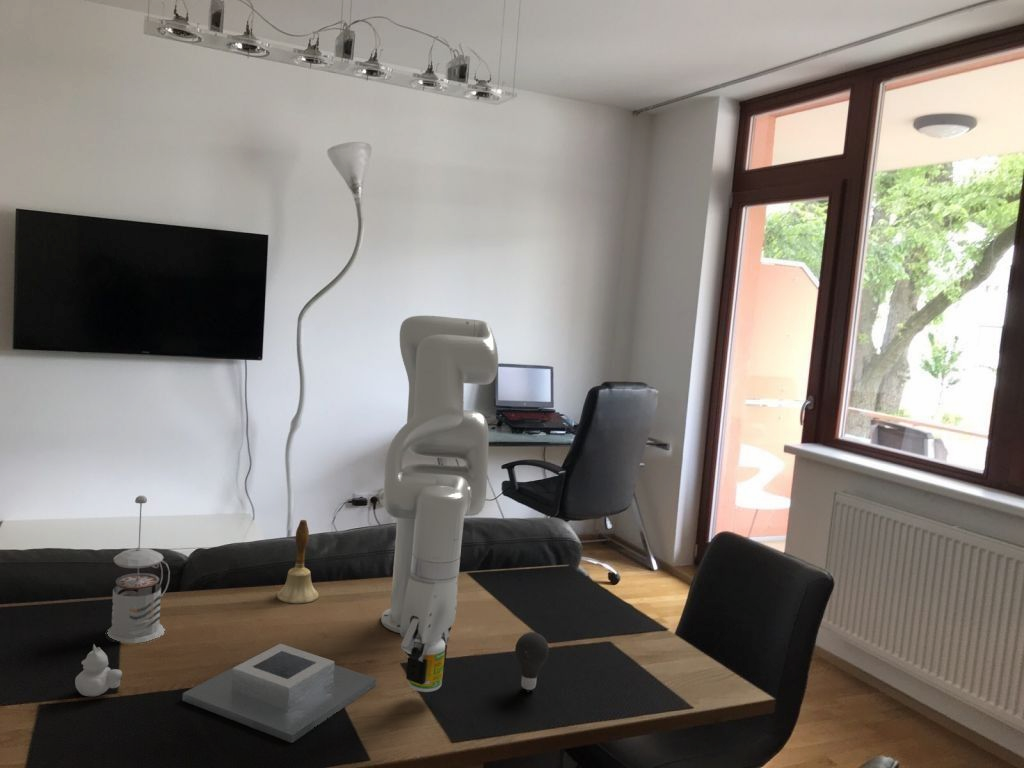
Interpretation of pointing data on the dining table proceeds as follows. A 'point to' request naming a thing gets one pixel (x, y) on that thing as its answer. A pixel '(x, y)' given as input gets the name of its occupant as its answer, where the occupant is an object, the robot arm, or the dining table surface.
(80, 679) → the rubber duck
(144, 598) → the french press
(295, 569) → the hand bell
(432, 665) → the supplement bottle
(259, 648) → the dining table surface
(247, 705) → the collar plate
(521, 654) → the light bulb
